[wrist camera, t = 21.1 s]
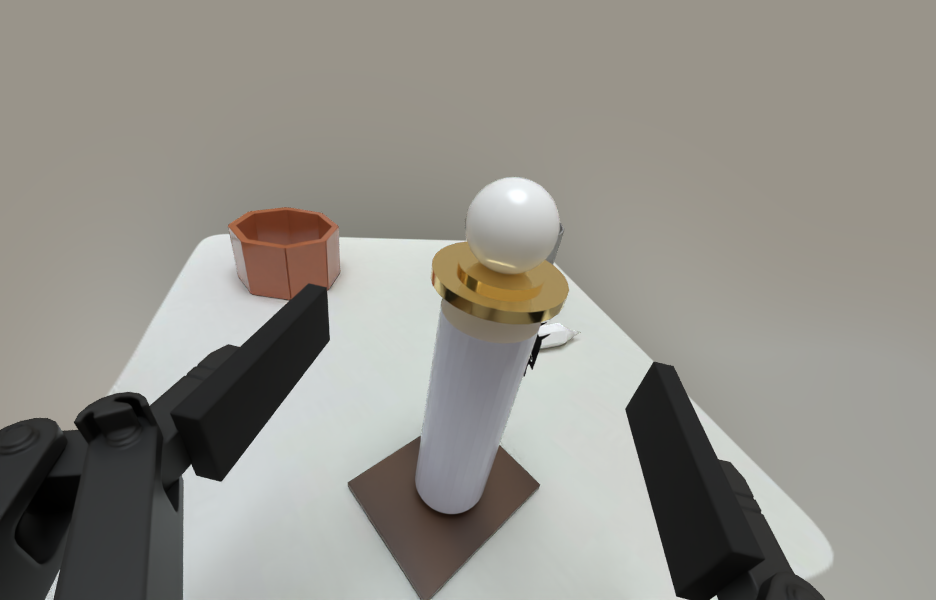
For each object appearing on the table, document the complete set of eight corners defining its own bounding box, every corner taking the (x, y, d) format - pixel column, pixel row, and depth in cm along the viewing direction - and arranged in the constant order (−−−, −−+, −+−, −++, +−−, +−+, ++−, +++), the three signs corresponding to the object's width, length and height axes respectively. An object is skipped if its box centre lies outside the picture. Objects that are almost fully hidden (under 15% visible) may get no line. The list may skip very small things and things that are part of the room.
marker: (576, 344, 41) (443, 366, 34) (570, 327, 42) (438, 344, 35) (591, 336, 39) (452, 357, 32) (584, 318, 40) (446, 335, 33)
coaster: (424, 604, 19) (425, 602, 19) (347, 485, 23) (347, 482, 23) (538, 487, 25) (540, 484, 25) (461, 411, 30) (462, 408, 29)
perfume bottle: (455, 554, 21) (562, 223, 10) (385, 486, 23) (409, 164, 12) (507, 481, 25) (623, 192, 14) (443, 431, 27) (500, 152, 16)
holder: (261, 308, 36) (251, 254, 33) (229, 264, 41) (218, 214, 38) (352, 283, 42) (352, 236, 39) (314, 248, 48) (311, 204, 44)
